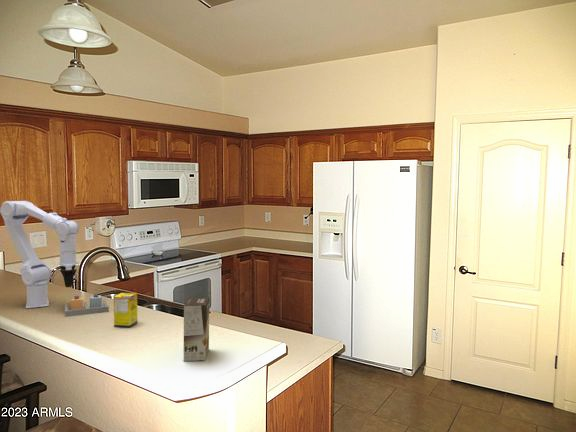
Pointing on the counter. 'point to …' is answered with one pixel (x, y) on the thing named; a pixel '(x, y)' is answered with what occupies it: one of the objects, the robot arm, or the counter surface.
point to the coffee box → (196, 329)
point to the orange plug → (76, 303)
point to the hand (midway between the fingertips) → (68, 285)
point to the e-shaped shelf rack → (86, 309)
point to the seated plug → (95, 301)
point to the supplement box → (125, 309)
